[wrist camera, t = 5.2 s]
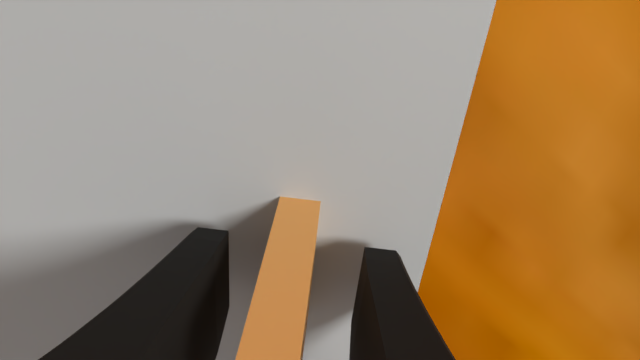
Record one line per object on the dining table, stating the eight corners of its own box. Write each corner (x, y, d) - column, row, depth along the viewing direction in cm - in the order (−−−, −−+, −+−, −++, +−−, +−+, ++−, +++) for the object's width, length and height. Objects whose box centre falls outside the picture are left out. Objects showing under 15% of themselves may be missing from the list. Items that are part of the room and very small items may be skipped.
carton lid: (369, 450, 14) (373, 655, 10) (-95, 392, 14) (-263, 571, 10) (531, -171, 6) (799, -293, 2) (-488, -276, 7) (-1687, -533, 3)
